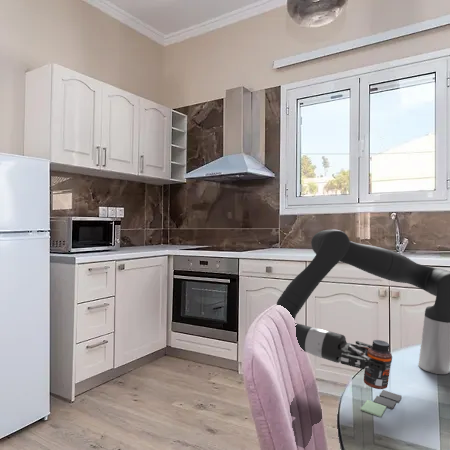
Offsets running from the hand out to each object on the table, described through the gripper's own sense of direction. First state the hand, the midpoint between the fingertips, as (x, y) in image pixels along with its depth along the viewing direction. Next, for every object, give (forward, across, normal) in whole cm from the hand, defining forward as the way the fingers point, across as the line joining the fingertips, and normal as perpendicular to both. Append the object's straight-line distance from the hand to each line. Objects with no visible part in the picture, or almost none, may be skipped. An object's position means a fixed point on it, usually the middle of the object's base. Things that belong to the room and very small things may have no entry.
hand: (388, 363), depth 105 cm
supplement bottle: (-2, 0, +7) cm, 7 cm away
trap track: (-1, +5, +13) cm, 14 cm away
